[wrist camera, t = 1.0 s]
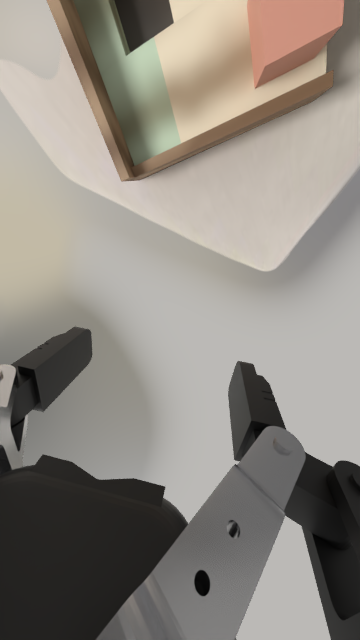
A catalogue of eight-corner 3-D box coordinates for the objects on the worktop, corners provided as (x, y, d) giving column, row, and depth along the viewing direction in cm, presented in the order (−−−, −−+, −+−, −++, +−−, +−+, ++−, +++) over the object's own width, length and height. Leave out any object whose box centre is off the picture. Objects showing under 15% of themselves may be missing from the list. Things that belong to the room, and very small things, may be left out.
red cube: (246, 5, 17) (256, -49, 13) (315, -39, 15) (351, -116, 11) (254, 89, 19) (264, 66, 15) (313, 58, 18) (342, 24, 14)
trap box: (54, -49, 18) (-12, -140, 13) (319, -315, 12) (402, -706, 7) (139, 180, 27) (121, 181, 22) (312, 101, 21) (344, 77, 16)
